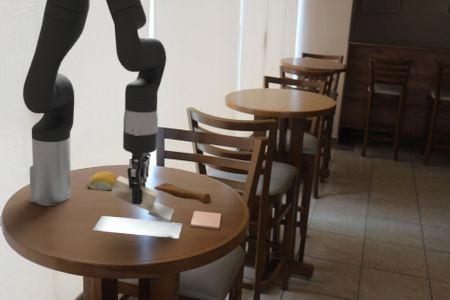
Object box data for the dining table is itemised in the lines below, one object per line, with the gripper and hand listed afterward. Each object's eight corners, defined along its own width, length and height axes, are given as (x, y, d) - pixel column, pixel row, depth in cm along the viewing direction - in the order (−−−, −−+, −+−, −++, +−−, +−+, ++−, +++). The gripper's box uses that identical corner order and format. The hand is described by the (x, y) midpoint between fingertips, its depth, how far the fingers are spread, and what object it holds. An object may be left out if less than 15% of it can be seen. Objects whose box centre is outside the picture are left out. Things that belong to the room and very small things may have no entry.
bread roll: (119, 181, 142) (120, 169, 141) (114, 192, 133) (114, 179, 132) (92, 179, 141) (92, 167, 140) (84, 190, 133) (85, 177, 132)
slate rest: (92, 234, 108) (92, 230, 107) (102, 219, 115) (102, 215, 115) (178, 242, 107) (178, 238, 107) (182, 227, 115) (182, 223, 115)
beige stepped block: (108, 197, 106) (114, 181, 105) (115, 187, 112) (121, 173, 111) (168, 222, 107) (175, 208, 106) (172, 212, 113) (179, 198, 112)
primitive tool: (153, 189, 139) (153, 177, 138) (165, 184, 143) (166, 174, 142) (204, 208, 128) (205, 196, 128) (215, 203, 133) (217, 191, 132)
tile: (190, 224, 114) (219, 227, 114) (194, 210, 121) (221, 213, 121) (190, 231, 114) (218, 234, 114) (193, 217, 122) (220, 220, 122)
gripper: (131, 121, 111) (129, 188, 116) (115, 135, 98) (114, 211, 103) (162, 123, 111) (159, 191, 116) (151, 138, 98) (148, 214, 102)
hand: (138, 200), depth 109 cm, fingers closed on beige stepped block, 3 cm apart
